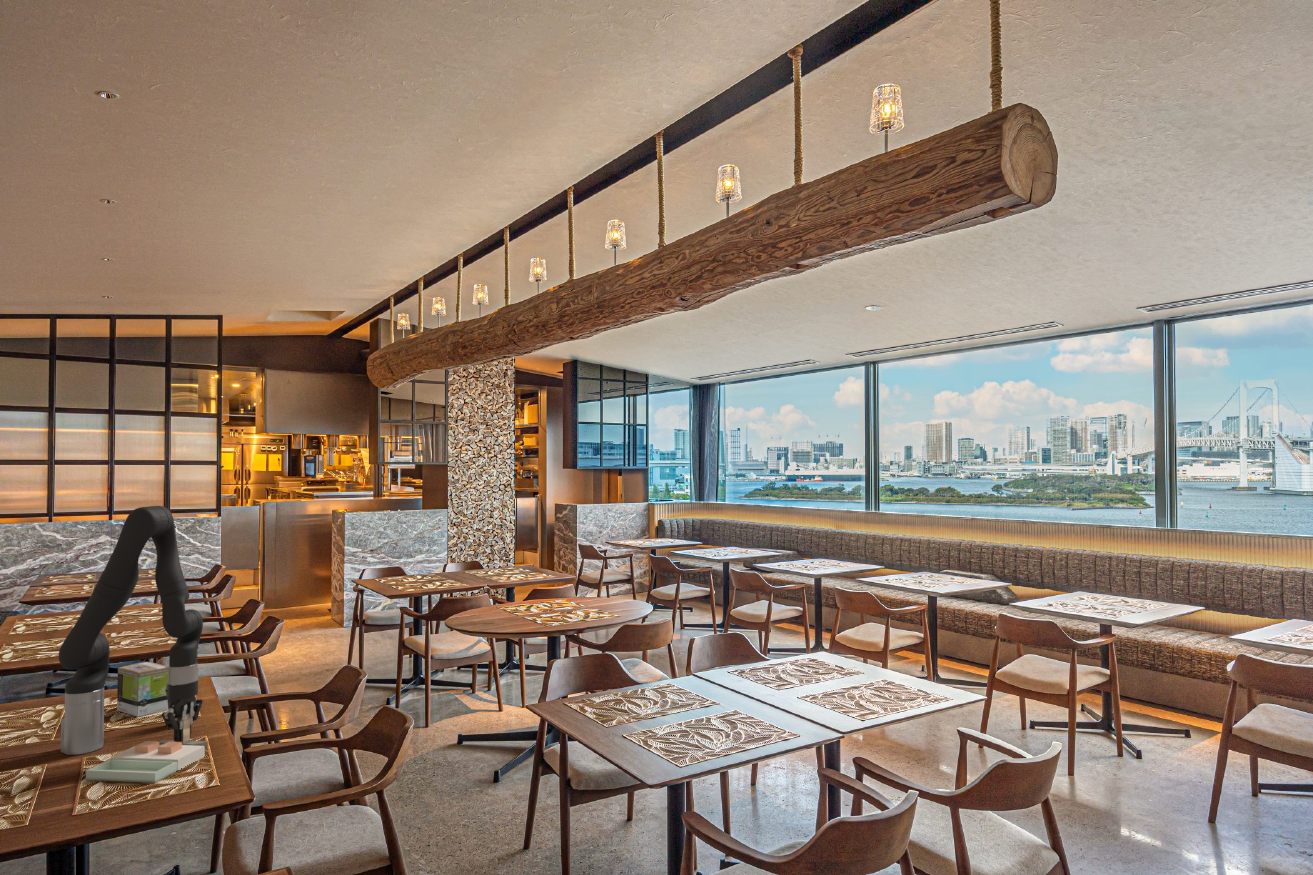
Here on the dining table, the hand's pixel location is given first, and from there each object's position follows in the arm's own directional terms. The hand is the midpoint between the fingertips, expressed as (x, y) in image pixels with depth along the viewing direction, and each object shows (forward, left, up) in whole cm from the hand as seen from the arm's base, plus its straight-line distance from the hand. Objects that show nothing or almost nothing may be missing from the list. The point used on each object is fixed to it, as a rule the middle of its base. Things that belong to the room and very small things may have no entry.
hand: (182, 739), depth 218 cm
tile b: (+4, -9, 0) cm, 10 cm away
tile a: (-3, -9, 0) cm, 10 cm away
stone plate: (+1, -10, -3) cm, 10 cm away
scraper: (0, 0, -3) cm, 3 cm away
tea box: (-41, +32, -3) cm, 52 cm away
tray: (+1, -19, -3) cm, 19 cm away
